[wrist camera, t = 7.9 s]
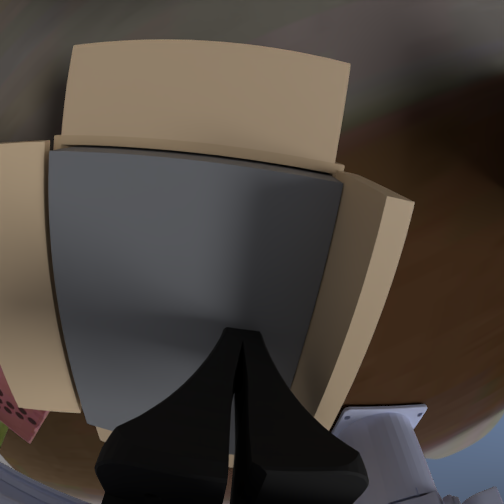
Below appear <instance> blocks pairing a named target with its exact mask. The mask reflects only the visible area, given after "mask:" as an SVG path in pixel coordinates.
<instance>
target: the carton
mask: <svg viewBox="0 0 504 504" xmlns="http://www.w3.org/2000/svg"><path fill="white" fill-rule="evenodd" d="M350 65H351V64H349V63H345V62H341V61H337V60H333V59H329V58H325V57H320V56H315V55H311V54H306V53H301V52H295V51H290V50H284V49H278V48H271V47H264V46H257V45H249V44H240V43H230V42H218V41H202V40H171V39H157V40H126V41H111V42H99V43H89V44H81V45H74V46H73V51H72V57H71V62H70V68H69V74H68V80H67V87H66V95H65V103H64V112H63V122H62V134H61V135H54V150H51V151H49V173H48V196H49V225H50V240H51V252H52V262H53V272H54V280H55V287H56V294H57V301H58V307H59V313H60V319H61V324H62V329H63V334H64V339H65V344H66V348H67V353H68V357H69V361H70V365H71V369H72V373H73V377H74V381H75V385H76V388H77V392H78V395H79V398H80V402H81V405H82V408H83V411H84V415H85V418H86V421H87V424H90V425H94V426H96V429H97V432H98V435H99V438H100V440H101V441H104V442H106V440H107V439H108V437H109V436H110V434H111V433H112V431H113V430H114V429H115V427H117V426H119V425H121V424H123V423H125V422H127V421H130V420H132V419H134V418H136V417H138V416H139V415H141V414H143V413H145V412H146V411H148V410H149V409H151V408H153V407H154V406H156V405H157V404H159V403H160V402H162V401H163V400H165V399H166V398H167V397H168V396H170V395H171V394H172V393H173V392H175V391H176V390H177V389H178V388H179V387H180V386H182V385H183V384H184V383H185V382H186V381H187V380H188V379H189V378H190V377H191V376H192V375H193V374H194V373H195V371H196V370H197V369H198V368H199V367H200V366H201V364H202V363H203V362H204V361H205V360H206V358H207V357H208V355H209V354H210V353H211V351H212V350H213V348H214V347H215V345H216V344H217V342H218V340H219V338H220V336H221V334H222V332H223V329H224V328H226V327H230V328H237V329H245V330H253V331H260V333H261V334H262V336H263V339H264V342H265V345H266V347H267V349H268V352H269V354H270V356H271V358H272V360H273V362H274V364H275V366H276V368H277V369H278V371H279V373H280V375H281V376H282V378H283V379H284V381H285V383H286V384H287V386H288V387H289V389H290V387H291V384H292V381H293V378H294V375H295V372H296V368H297V365H298V362H299V359H300V355H301V352H302V349H303V345H304V342H305V338H306V335H307V331H308V328H309V324H310V321H311V317H312V314H313V310H314V306H315V303H316V299H317V295H318V291H319V287H320V284H321V280H322V276H323V272H324V268H325V264H326V260H327V256H328V251H329V247H330V243H331V239H332V234H333V230H334V226H335V221H336V217H337V212H338V208H339V203H340V198H341V193H342V189H343V184H344V183H342V182H340V181H339V180H337V179H336V178H335V177H336V172H337V170H338V171H344V166H345V165H342V164H340V163H337V162H335V159H336V153H337V148H338V142H339V137H340V131H341V125H342V119H343V113H344V106H345V100H346V93H347V87H348V80H349V73H350ZM234 453H235V410H234V396H233V400H232V405H231V421H230V441H229V466H228V467H232V468H233V465H234Z"/></svg>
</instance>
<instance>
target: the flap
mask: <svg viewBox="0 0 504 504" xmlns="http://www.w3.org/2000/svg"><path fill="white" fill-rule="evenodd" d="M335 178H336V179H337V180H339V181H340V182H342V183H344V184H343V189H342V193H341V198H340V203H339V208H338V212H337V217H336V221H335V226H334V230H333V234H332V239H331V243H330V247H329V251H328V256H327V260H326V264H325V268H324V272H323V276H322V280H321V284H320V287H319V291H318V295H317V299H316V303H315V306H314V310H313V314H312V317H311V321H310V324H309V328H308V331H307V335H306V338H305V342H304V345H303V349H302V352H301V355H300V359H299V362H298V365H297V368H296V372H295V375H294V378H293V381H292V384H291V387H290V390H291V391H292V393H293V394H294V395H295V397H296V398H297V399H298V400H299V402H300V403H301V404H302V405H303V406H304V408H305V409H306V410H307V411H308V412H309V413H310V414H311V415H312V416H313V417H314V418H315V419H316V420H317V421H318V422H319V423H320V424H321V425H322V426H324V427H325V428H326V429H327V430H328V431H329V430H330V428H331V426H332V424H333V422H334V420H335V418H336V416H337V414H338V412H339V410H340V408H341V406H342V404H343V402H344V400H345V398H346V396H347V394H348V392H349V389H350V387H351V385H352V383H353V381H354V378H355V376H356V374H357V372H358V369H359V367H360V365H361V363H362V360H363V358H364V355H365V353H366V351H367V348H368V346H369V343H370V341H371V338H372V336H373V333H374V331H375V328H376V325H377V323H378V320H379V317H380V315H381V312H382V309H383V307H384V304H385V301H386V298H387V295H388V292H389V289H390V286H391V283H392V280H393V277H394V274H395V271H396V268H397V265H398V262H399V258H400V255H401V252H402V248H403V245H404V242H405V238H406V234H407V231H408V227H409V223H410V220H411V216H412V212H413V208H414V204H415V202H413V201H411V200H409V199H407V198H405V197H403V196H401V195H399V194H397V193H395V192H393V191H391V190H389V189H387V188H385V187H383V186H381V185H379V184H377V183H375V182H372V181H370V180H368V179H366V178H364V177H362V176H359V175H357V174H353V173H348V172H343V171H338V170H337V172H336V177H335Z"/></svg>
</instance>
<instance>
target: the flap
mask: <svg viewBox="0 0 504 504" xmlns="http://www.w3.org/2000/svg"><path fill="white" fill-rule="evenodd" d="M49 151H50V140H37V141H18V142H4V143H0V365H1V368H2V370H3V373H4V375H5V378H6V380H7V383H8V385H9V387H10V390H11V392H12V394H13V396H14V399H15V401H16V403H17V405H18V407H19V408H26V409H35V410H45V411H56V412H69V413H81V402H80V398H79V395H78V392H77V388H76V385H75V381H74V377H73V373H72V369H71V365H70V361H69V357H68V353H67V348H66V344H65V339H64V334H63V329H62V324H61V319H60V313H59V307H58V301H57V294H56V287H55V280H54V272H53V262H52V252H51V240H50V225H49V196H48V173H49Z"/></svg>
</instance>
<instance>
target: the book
mask: <svg viewBox="0 0 504 504" xmlns="http://www.w3.org/2000/svg"><path fill="white" fill-rule="evenodd" d="M49 412H50V411H45V410H35V409H26V408H19V407H18V405H17V403H16V401H15V399H14V396H13V394H12V392H11V390H10V387H9V385H8V383H7V380H6V378H5V375H4V373H3V370H2V368H1V365H0V421H1V422H3V423H4V424H5V425H6V426H8V427H9V428H10V429H11V430H13V431H14V432H15V433H16V434H18V435H19V436H20V437H22V438H23V439H24V440H26V441H27V442H28V443H31V442H32V440H33V438H34V437H35V435H36V433H37V431H38V430H39V428H40V426H41V425H42V423H43V421H44V420H45V418H46V417H47V415H48V413H49Z"/></svg>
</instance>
